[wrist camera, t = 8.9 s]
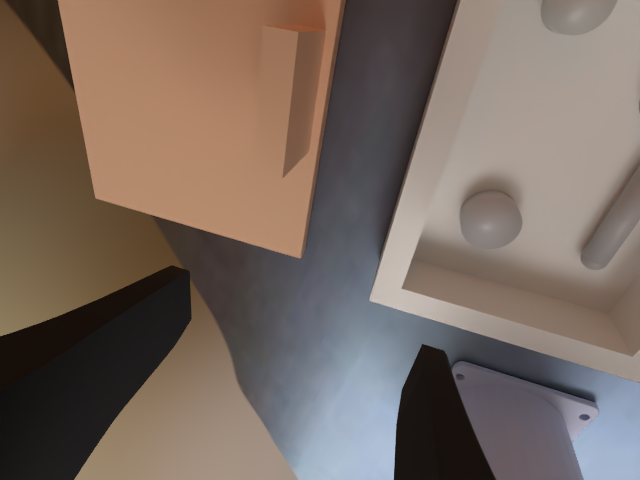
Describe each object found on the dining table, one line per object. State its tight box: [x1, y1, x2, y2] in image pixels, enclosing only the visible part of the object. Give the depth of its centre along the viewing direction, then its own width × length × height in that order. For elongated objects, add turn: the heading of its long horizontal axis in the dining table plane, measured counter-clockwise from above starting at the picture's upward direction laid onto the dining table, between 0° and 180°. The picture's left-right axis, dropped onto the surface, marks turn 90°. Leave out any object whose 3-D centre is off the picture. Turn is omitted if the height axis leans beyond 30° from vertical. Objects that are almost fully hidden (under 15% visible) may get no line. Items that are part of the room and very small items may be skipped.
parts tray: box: [369, 0, 640, 383], centre depth 14 cm, size 16×12×4 cm
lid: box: [58, 0, 346, 258], centre depth 16 cm, size 17×13×5 cm
